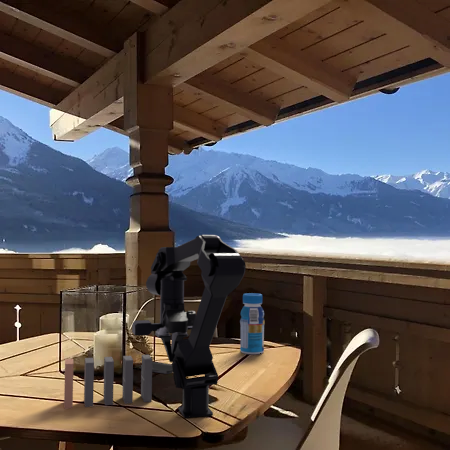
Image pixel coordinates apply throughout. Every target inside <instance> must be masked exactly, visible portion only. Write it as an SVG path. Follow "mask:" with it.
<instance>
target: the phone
mask: <svg viewBox="0 0 450 450" xmlns="http://www.w3.org/2000/svg"><path fill="white" fill-rule="evenodd" d="M139 368H140V369H141V367H139ZM152 373H157V374H158V373H159V374H163V375H164V374H165V375H167V374H168V375H169V374H173V369H172V363H167V362H159V361H154V360H152Z"/></svg>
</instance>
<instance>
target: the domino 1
mask: <svg viewBox="0 0 450 450" xmlns="http://www.w3.org/2000/svg"><path fill="white" fill-rule="evenodd" d="M73 389H74V358H65V360H64V389H63V390H64V393H63V397H64V399H63V403H64V404H63V406H64V407H63V409H64V410H65V409H66V410H67V409H73V407H74V406H73V405H74V404H73V401H74V399H73V398H74V390H73Z"/></svg>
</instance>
